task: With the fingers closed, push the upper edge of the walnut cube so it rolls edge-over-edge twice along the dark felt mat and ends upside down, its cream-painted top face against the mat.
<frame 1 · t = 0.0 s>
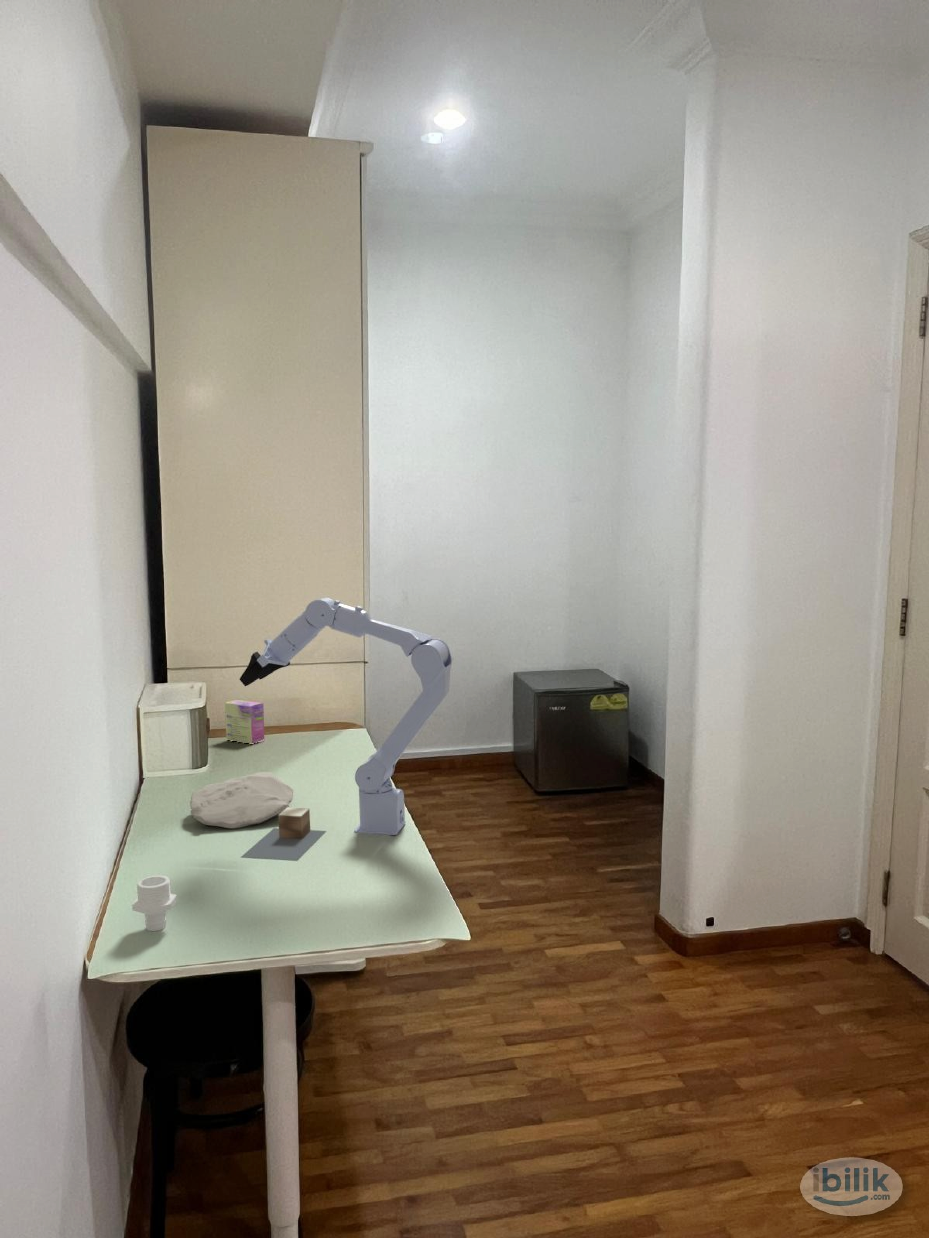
hand: (250, 679, 205), 32 cm above the table, tool tilted 50°, fingers open, 7 cm apart
pipe fitting: (156, 928, 157), on the table
box: (245, 741, 282), on the table
mat: (285, 844, 195), on the table
rock: (245, 811, 218), on the table
cube: (295, 834, 200), resting on mat
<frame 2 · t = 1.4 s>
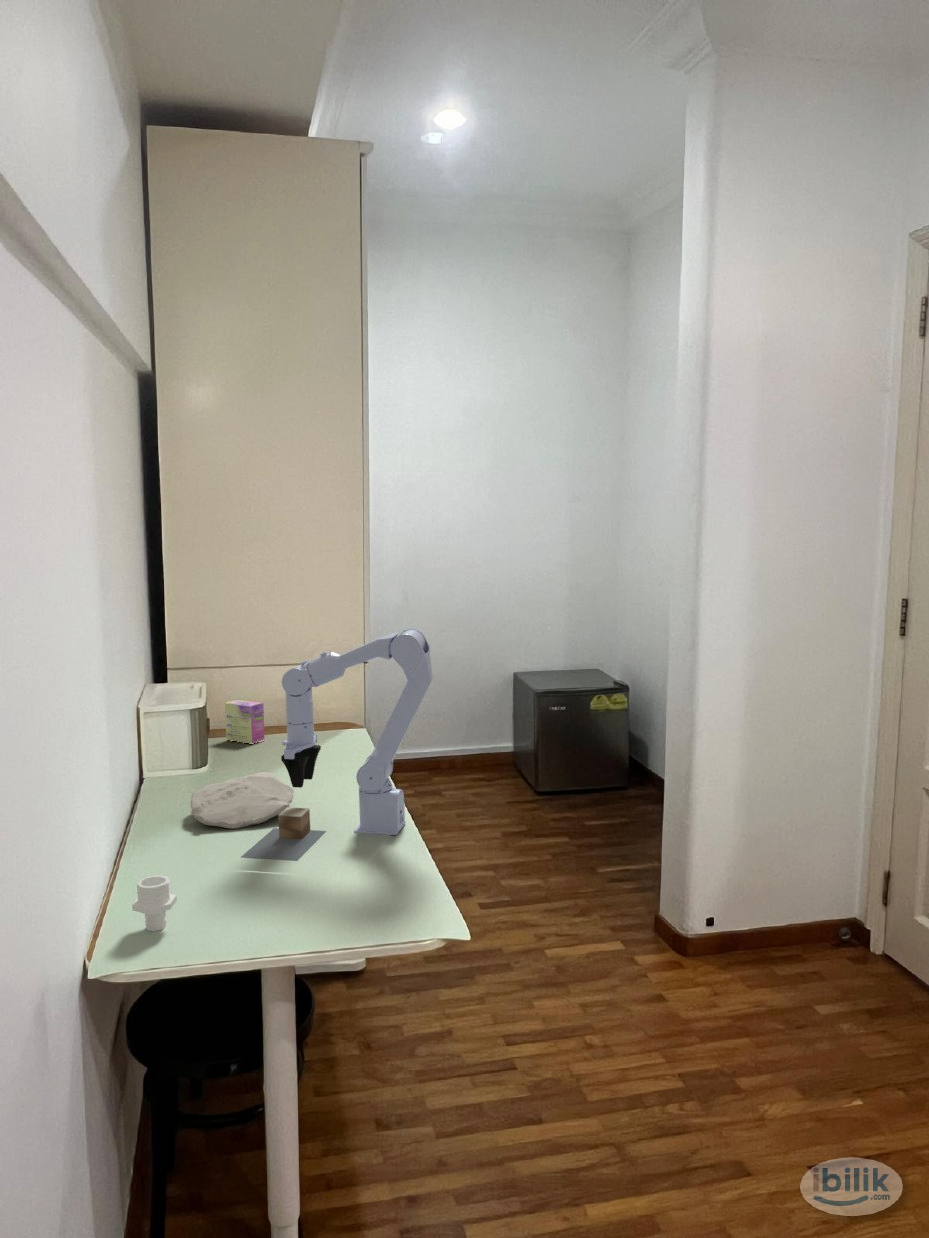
hand: (302, 782, 204), 10 cm above the table, tool pointing down, fingers open, 5 cm apart
nothing on the table moved.
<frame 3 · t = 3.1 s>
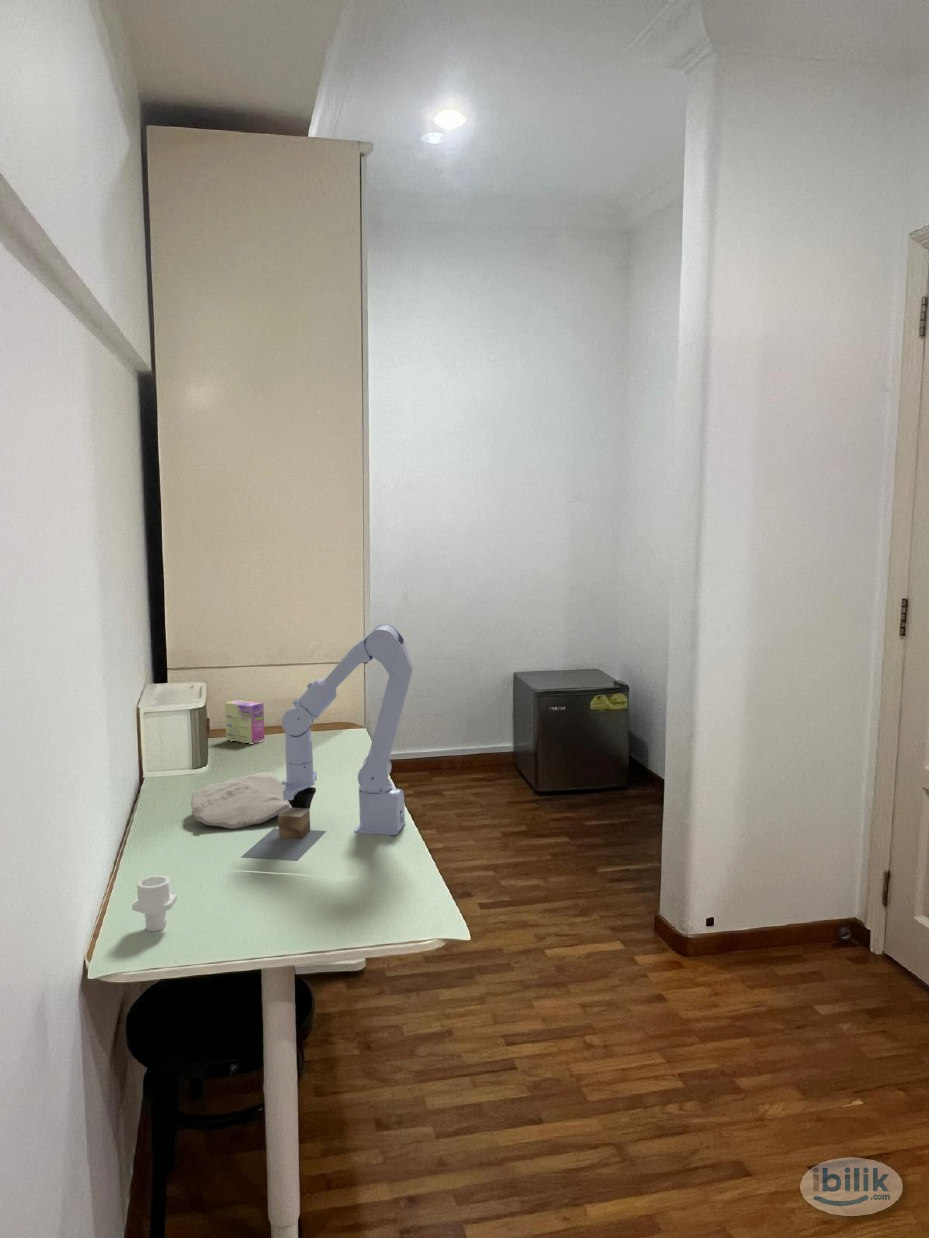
hand: (301, 822, 204), 2 cm above the table, tool pointing down, fingers closed
cube: (295, 834, 200), resting on mat, touching gripper
everything else where it was.
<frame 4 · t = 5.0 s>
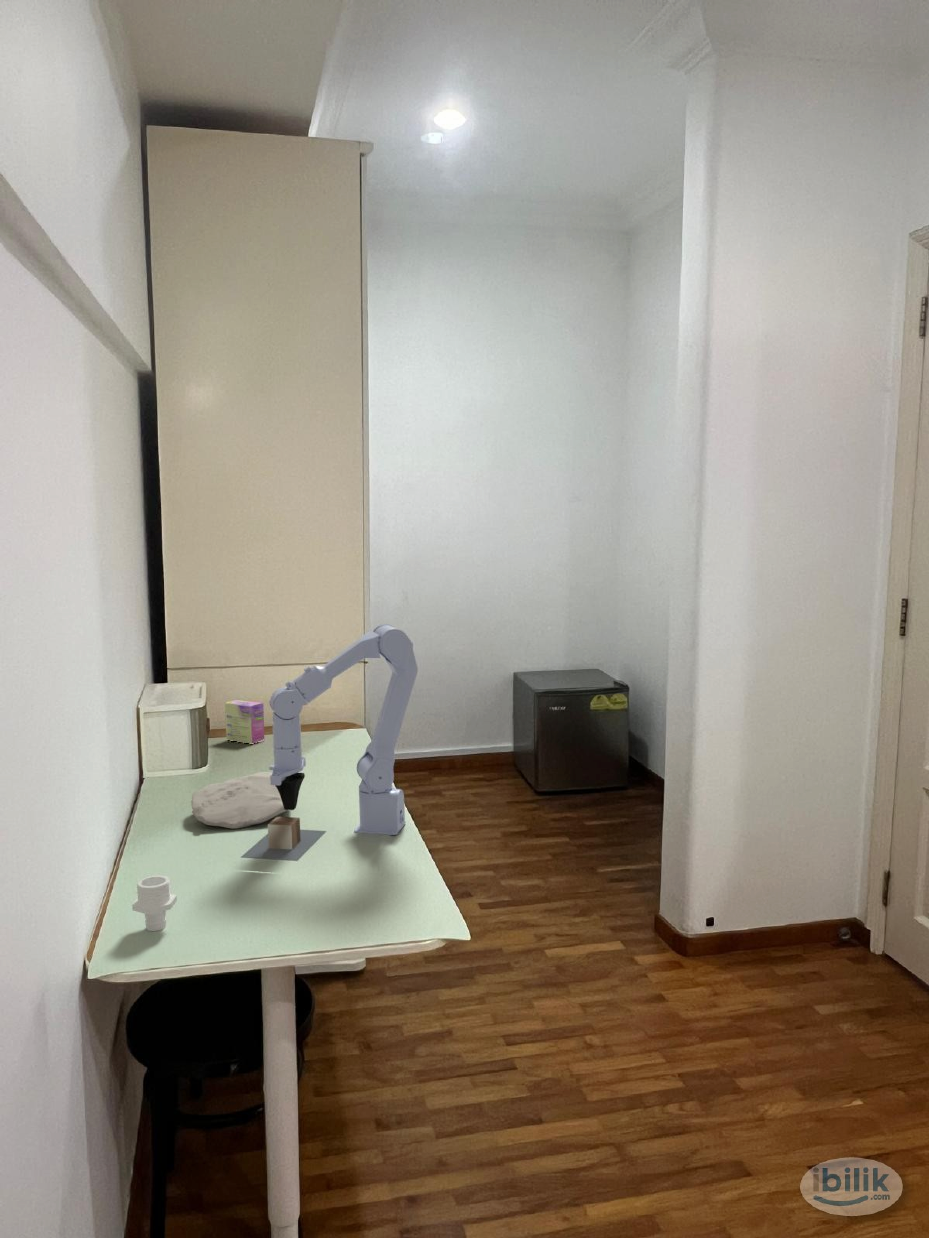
hand: (290, 808, 197), 7 cm above the table, tool pointing down, fingers closed
cube: (288, 828, 196), point 3 cm above the table, tilted 90°, touching mat
everything else where it was.
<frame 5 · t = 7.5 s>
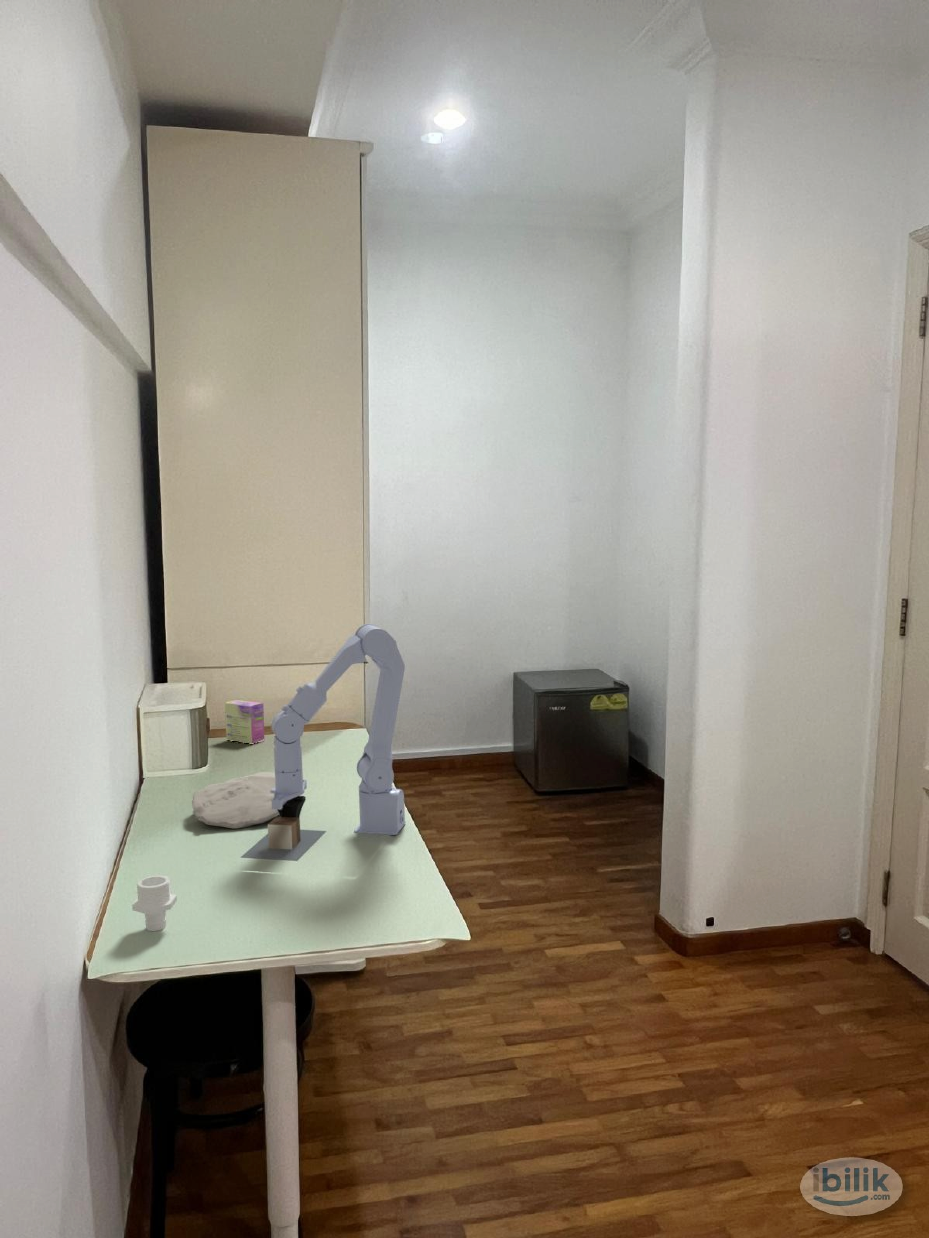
hand: (291, 831, 198), 2 cm above the table, tool pointing down, fingers closed
cube: (288, 828, 196), point 3 cm above the table, tilted 90°, touching gripper, mat
everything else where it was.
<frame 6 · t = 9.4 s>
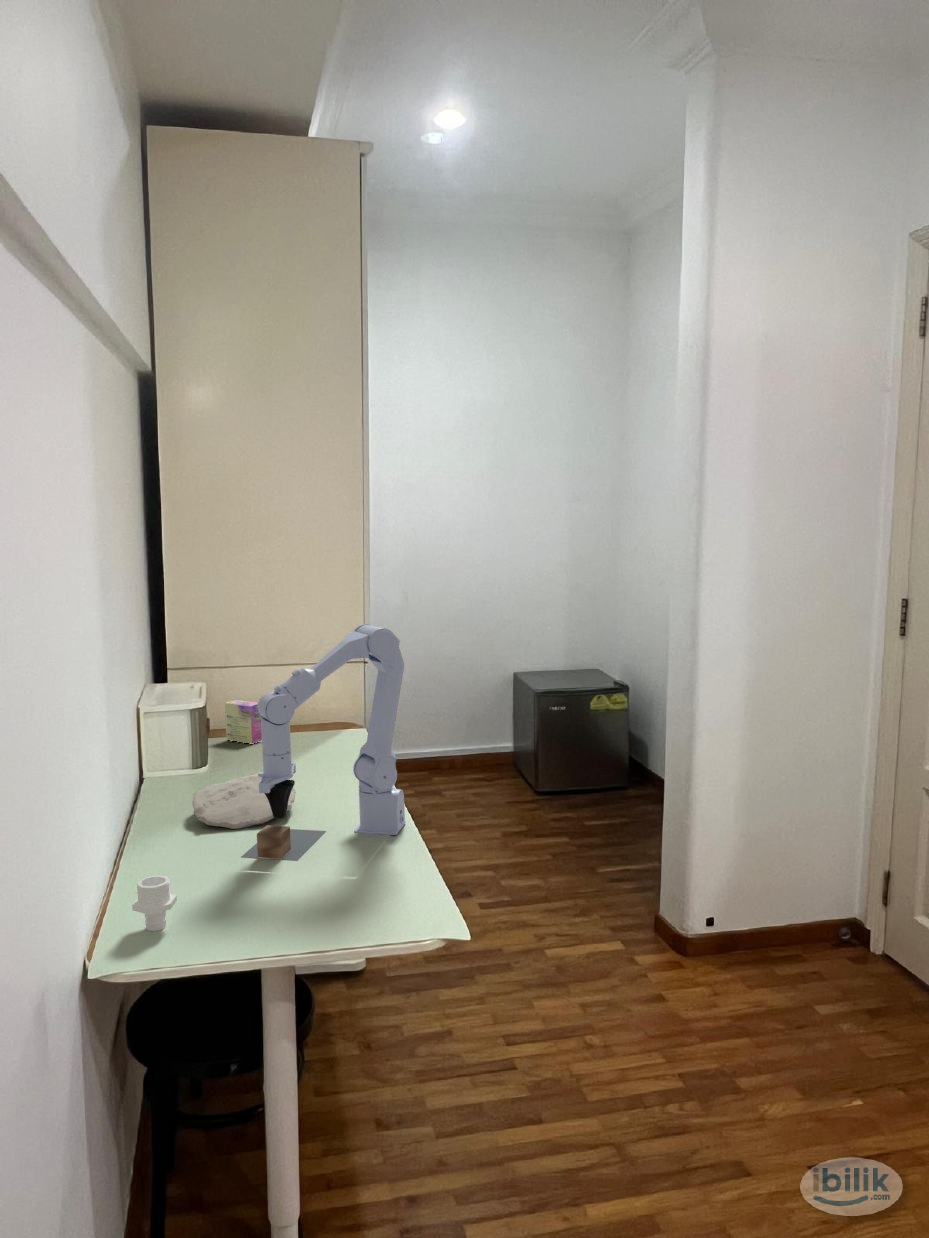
hand: (279, 816, 192), 7 cm above the table, tool pointing down, fingers closed
cube: (273, 830, 188), point 5 cm above the table, tilted 180°, touching mat
everything else where it was.
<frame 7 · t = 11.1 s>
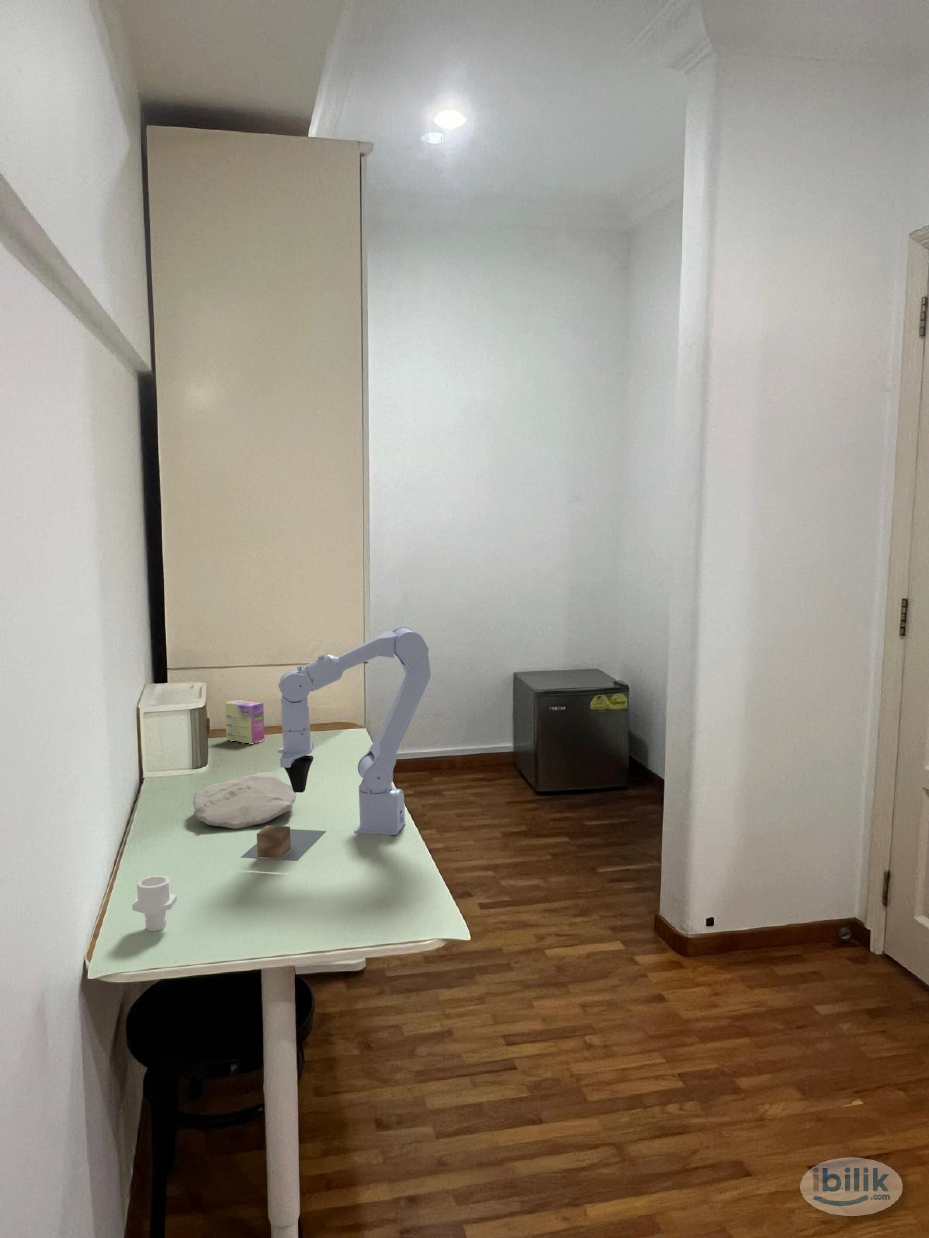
hand: (299, 791, 198), 10 cm above the table, tool pointing down, fingers closed
nothing on the table moved.
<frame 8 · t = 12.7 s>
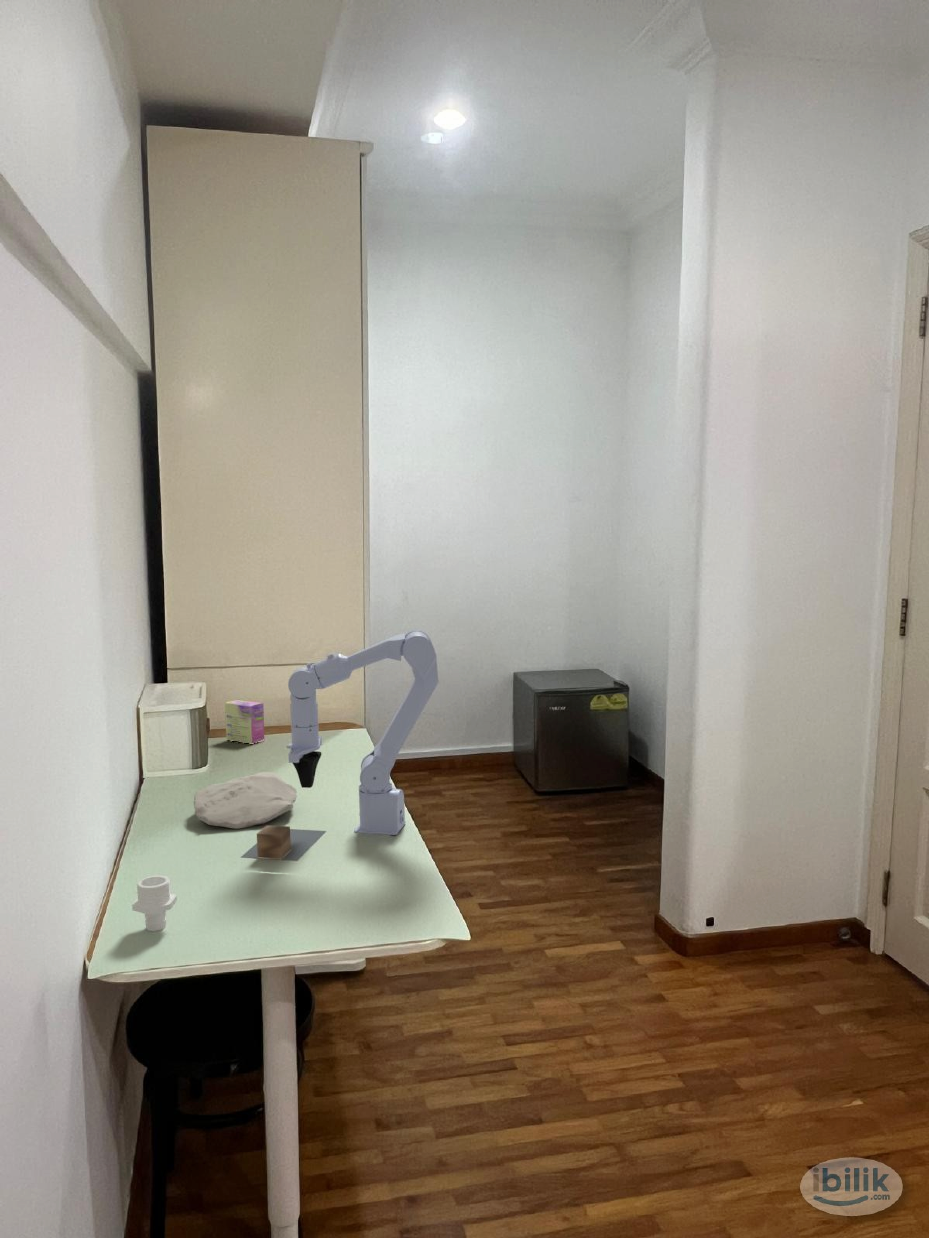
hand: (307, 786, 201), 10 cm above the table, tool pointing down, fingers closed
nothing on the table moved.
at the end: cube tilted 180°; cube inside the target area (0.5 cm from its centre), point 5.3 cm above the table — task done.
